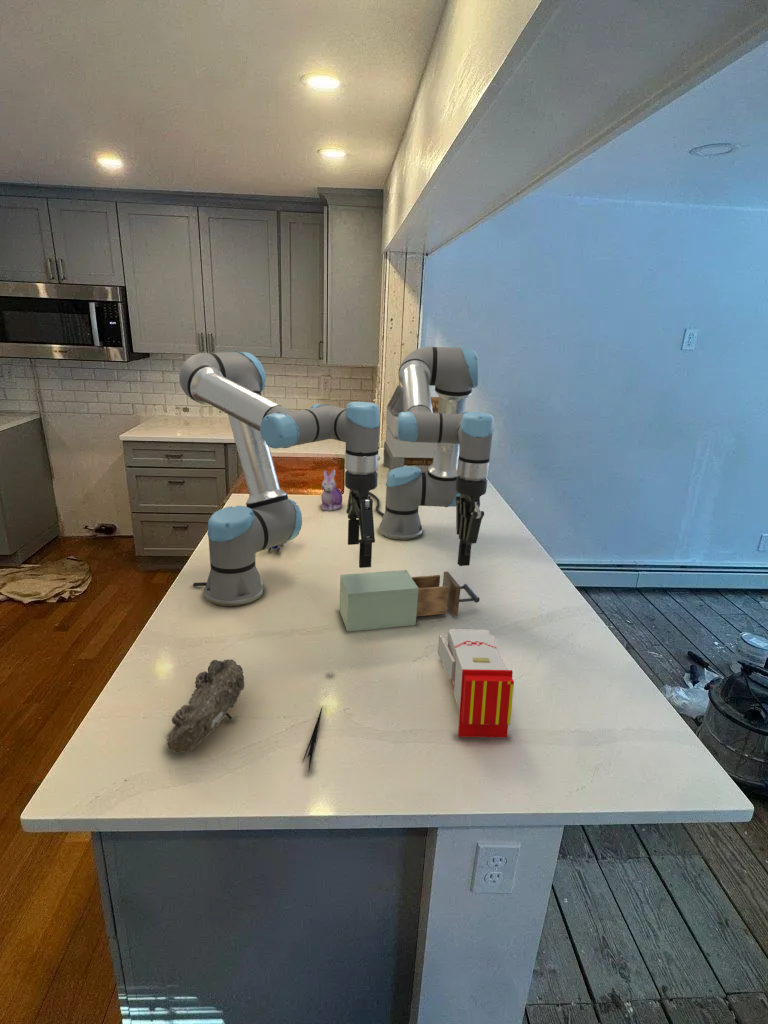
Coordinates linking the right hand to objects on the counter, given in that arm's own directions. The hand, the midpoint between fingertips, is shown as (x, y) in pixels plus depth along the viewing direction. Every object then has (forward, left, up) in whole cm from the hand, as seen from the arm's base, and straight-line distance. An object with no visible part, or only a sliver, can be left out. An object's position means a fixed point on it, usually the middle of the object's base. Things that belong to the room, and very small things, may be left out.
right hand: (463, 564), depth 146 cm
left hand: (-12, -25, +5) cm, 28 cm away
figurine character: (-64, -18, -13) cm, 68 cm away
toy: (+25, -24, -13) cm, 37 cm away
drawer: (-3, -7, -12) cm, 14 cm away
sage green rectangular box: (-10, -20, -13) cm, 26 cm away
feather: (+13, -53, -13) cm, 56 cm away
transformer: (-102, +84, -13) cm, 133 cm away
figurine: (-85, +19, -13) cm, 88 cm away
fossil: (0, -69, -13) cm, 70 cm away
